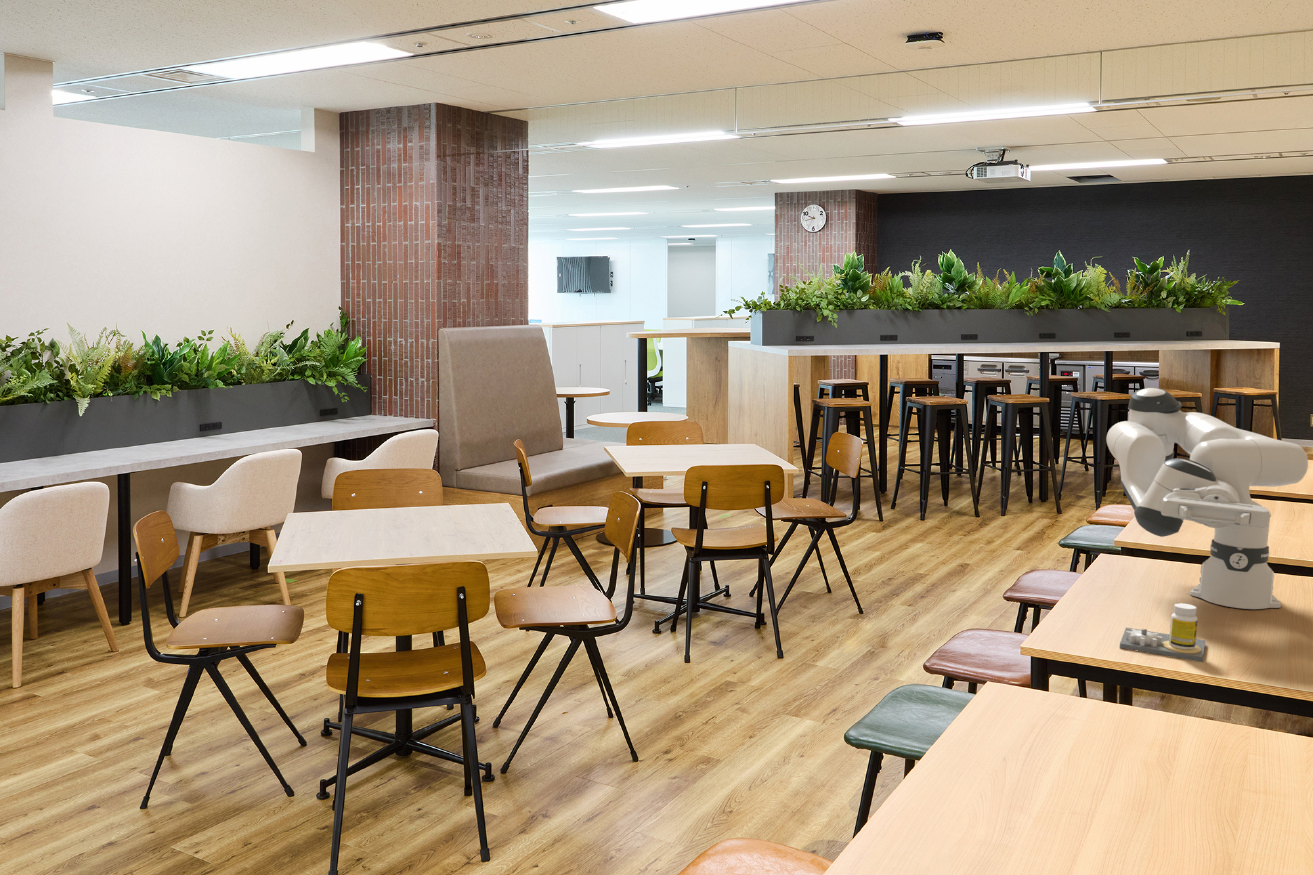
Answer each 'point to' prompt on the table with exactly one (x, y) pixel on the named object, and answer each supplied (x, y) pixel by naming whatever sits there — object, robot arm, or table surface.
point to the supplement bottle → (1183, 627)
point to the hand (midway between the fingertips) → (1213, 517)
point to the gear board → (1159, 644)
